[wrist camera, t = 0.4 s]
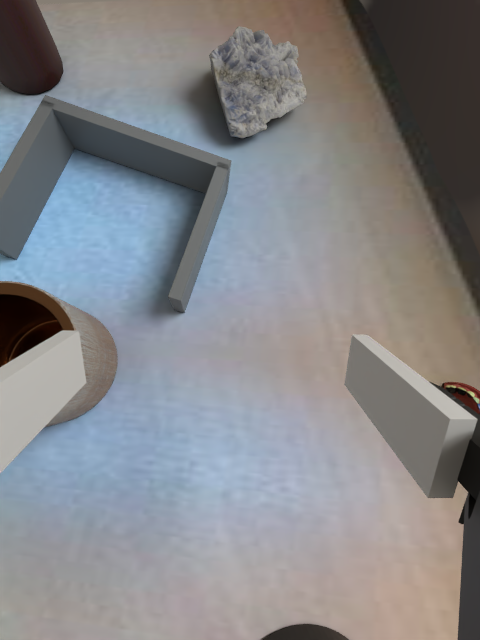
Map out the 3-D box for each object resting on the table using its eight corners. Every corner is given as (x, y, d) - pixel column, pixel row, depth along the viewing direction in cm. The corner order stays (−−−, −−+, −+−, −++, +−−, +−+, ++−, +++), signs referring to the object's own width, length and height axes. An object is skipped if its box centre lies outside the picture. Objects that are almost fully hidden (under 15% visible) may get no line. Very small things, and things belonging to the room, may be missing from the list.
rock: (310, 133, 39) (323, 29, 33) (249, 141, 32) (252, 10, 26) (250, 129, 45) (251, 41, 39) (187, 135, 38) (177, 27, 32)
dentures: (423, 389, 28) (493, 382, 29) (395, 387, 32) (457, 380, 34) (433, 450, 27) (505, 440, 29) (403, 439, 32) (467, 431, 33)
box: (184, 312, 31) (180, 300, 26) (5, 256, 30) (-34, 232, 25) (227, 191, 34) (231, 160, 30) (68, 136, 33) (45, 95, 28)
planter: (-6, 324, 28) (-108, 298, 19) (108, 300, 30) (66, 265, 21) (9, 436, 27) (-96, 468, 17) (129, 403, 29) (93, 415, 19)
